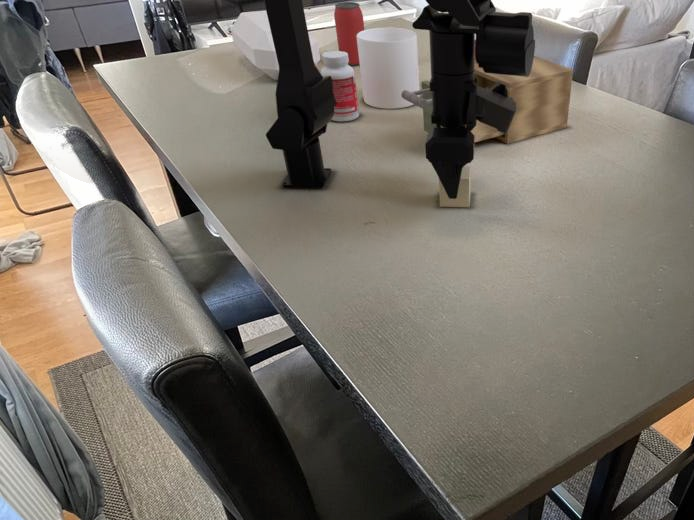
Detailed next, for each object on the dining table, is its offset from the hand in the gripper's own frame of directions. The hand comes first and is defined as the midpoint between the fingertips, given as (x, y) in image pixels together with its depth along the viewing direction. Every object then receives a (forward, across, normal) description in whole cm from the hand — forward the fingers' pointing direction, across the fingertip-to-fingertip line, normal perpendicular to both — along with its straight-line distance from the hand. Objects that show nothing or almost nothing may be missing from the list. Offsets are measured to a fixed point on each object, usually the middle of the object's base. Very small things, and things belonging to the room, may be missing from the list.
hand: (454, 184), depth 87 cm
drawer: (+2, +24, +1) cm, 24 cm away
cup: (+3, +46, +16) cm, 49 cm away
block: (+2, 0, 0) cm, 3 cm away
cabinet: (+2, +32, -10) cm, 34 cm away
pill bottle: (+3, +35, +24) cm, 43 cm away
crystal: (+3, +68, +46) cm, 82 cm away
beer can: (+3, +73, +29) cm, 79 cm away
